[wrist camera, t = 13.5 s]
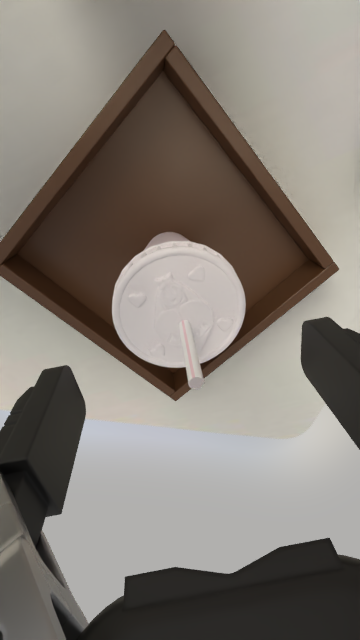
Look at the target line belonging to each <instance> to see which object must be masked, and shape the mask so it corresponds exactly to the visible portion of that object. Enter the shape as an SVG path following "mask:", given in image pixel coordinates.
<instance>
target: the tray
mask: <svg viewBox="0 0 360 640" xmlns="http://www.w3.org/2000/svg"><path fill="white" fill-rule="evenodd" d="M164 232H174V233H178V234H180V235H182V236H184V237H185V238H186V239H188V240H189V241H191V242H194V243H198V244H202V245H206V246H207V247H209V248H211V249H213V250H214V251H216V252H218V253H220V254H221V255H222V256H223V257H224V258H225V259H226V260H227V261H228V262H229V263H230V264H231V265H232V267H233V269H234V271H235V273H236V274H237V276H238V278H239V280H240V282H241V284H242V287H243V290H244V294H245V302H246V308H245V316H244V320H243V323H242V326H241V328H240V330H239V332H238V334H237V336H236V337H235V339H234V340H233V341H232V343H231V344H230V345H229V346H228V347H227V348H226V349H225V350H224V351H222V352H221V353H220V354H218V355H217V356H215V357H214V358H212V359H210V360H208V361H206V362H204V363H201V364H200V366H201V370H202V374H203V378H205V377H206V376H208V375H209V374H210V373H211V372H213V371H214V370H215V369H216V368H218V367H219V366H220V365H221V364H222V363H224V362H225V361H226V360H227V359H229V358H230V357H231V356H232V355H234V354H235V353H236V352H237V351H239V350H240V349H241V348H242V347H244V346H245V345H246V344H247V343H249V342H250V341H251V340H252V339H254V338H255V337H256V336H257V335H259V334H260V333H261V332H262V331H263V330H265V329H266V328H267V327H268V326H270V325H271V324H272V323H273V322H275V321H276V320H277V319H278V318H280V317H281V316H282V315H283V314H285V313H286V312H287V311H288V310H290V309H291V308H292V307H293V306H295V305H296V304H297V303H298V302H299V301H301V300H302V299H303V298H304V297H306V296H307V295H308V294H309V293H311V292H312V291H313V290H314V289H316V288H317V287H318V286H319V285H321V284H322V283H323V282H324V281H326V280H327V279H328V278H329V277H331V276H332V275H333V274H334V273H335V272H337V271H338V270H339V268H338V266H337V265H336V264H335V262H333V260H332V258H331V257H330V256H329V254H328V253H327V251H326V250H325V249H324V247H323V246H322V245H321V243H320V242H319V240H318V239H317V238H316V236H315V235H314V234H313V232H312V231H311V230H310V228H309V227H308V225H307V224H306V223H305V221H304V220H303V219H302V217H301V216H300V214H299V213H298V212H297V210H296V209H295V208H294V206H293V205H292V203H291V202H290V201H289V199H288V198H287V197H286V195H285V194H284V192H283V191H282V190H281V188H280V187H279V186H278V184H277V183H276V181H275V180H274V179H273V177H272V176H271V175H270V173H269V172H268V170H267V169H266V168H265V166H264V165H263V164H262V162H261V161H260V159H259V158H258V157H257V155H256V154H255V153H254V151H253V150H252V148H251V147H250V146H249V144H248V143H247V142H246V140H245V139H244V138H243V136H242V135H241V133H240V132H239V131H238V129H237V128H236V127H235V125H234V124H233V122H232V121H231V120H230V118H229V117H228V116H227V114H226V113H225V111H224V110H223V109H222V107H221V106H220V105H219V103H218V102H217V100H216V99H215V98H214V96H213V95H212V94H211V92H210V91H209V89H208V88H207V87H206V85H205V84H204V83H203V81H202V80H201V78H200V77H199V76H198V74H197V73H196V72H195V70H194V69H193V67H192V66H191V65H190V63H189V62H188V61H187V59H186V58H185V56H184V55H183V54H182V52H181V51H180V50H179V48H178V47H177V46H176V45H175V43H174V41H173V40H172V39H171V37H170V36H169V35H168V33H167V32H166V30H163V31H162V32H161V33H160V35H159V36H158V37H157V39H156V40H155V41H154V43H153V44H152V45H151V47H150V48H149V49H148V50H147V52H146V53H145V54H144V56H143V57H142V58H141V60H140V61H139V62H138V63H137V65H136V66H135V67H134V69H133V70H132V71H131V73H130V74H129V75H128V76H127V78H126V79H125V80H124V82H123V83H122V84H121V86H120V87H119V88H118V90H117V91H116V92H115V93H114V95H113V96H112V97H111V99H110V100H109V101H108V103H107V104H106V105H105V106H104V108H103V109H102V110H101V112H100V113H99V114H98V116H97V117H96V118H95V119H94V121H93V122H92V123H91V125H90V126H89V127H88V129H87V130H86V131H85V133H84V134H83V135H82V136H81V138H80V139H79V140H78V142H77V143H76V144H75V146H74V147H73V148H72V149H71V151H70V152H69V153H68V155H67V156H66V157H65V159H64V160H63V161H62V162H61V164H60V165H59V166H58V168H57V169H56V170H55V172H54V173H53V174H52V176H51V177H50V178H49V179H48V181H47V182H46V183H45V185H44V186H43V187H42V189H41V190H40V191H39V192H38V194H37V195H36V196H35V198H34V199H33V200H32V202H31V203H30V204H29V205H28V207H27V208H26V209H25V211H24V212H23V213H22V215H21V216H20V217H19V219H18V220H17V221H16V222H15V224H14V225H13V226H12V228H11V229H10V230H9V232H8V233H7V234H6V235H5V237H4V238H3V239H2V241H1V242H0V276H2V277H3V278H4V279H6V280H7V281H9V282H10V283H11V284H13V285H14V286H16V287H17V288H18V289H20V290H21V291H23V292H24V293H25V294H27V295H28V296H30V297H31V298H32V299H34V300H35V301H37V302H38V303H39V304H41V305H42V306H44V307H45V308H46V309H48V310H49V311H51V312H52V313H53V314H55V315H56V316H57V317H59V318H60V319H62V320H63V321H64V322H66V323H67V324H69V325H70V326H71V327H73V328H74V329H76V330H77V331H78V332H80V333H81V334H83V335H84V336H85V337H87V338H88V339H90V340H91V341H92V342H94V343H95V344H97V345H98V346H99V347H101V348H102V349H104V350H105V351H106V352H108V353H109V354H111V355H112V356H113V357H115V358H116V359H118V360H119V361H120V362H122V363H123V364H125V365H126V366H127V367H129V368H130V369H131V370H133V371H134V372H136V373H137V374H138V375H140V376H141V377H143V378H144V379H145V380H147V381H148V382H150V383H151V384H152V385H154V386H155V387H157V388H158V389H159V390H161V391H162V392H164V393H165V394H166V395H168V396H170V398H172V399H173V400H175V401H177V400H178V399H179V398H180V397H182V396H183V395H184V394H185V393H186V392H188V391H189V390H190V389H191V388H190V387H189V384H188V378H187V372H186V367H182V368H171V367H163V366H158V365H155V364H152V363H149V362H147V361H145V360H143V359H141V358H139V357H138V356H136V355H135V354H134V353H133V352H131V351H130V350H129V349H128V348H127V347H126V346H125V344H124V343H123V342H122V340H121V339H120V337H119V335H118V334H117V331H116V329H115V326H114V323H113V318H112V299H113V293H114V288H115V284H116V282H117V280H118V278H119V276H120V274H121V272H122V270H123V269H124V267H125V266H126V265H127V264H128V263H129V262H130V261H131V260H132V259H133V258H134V257H135V256H136V255H138V254H139V253H141V252H143V251H144V249H145V248H146V246H147V245H148V243H149V242H150V241H151V240H152V239H153V238H154V237H155V236H157V235H158V234H161V233H164Z"/></svg>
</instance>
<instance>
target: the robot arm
mask: <svg viewBox="0 0 360 640" xmlns="http://www.w3.org/2000/svg"><path fill="white" fill-rule="evenodd" d="M301 364H302V368H303V371H304V373H305V375H306V377H307V378H308V379H309V381H310V382H311V384H312V385H313V386H314V388H315V389H316V390H317V392H318V393H319V395H320V396H321V397H322V399H323V400H324V401H325V403H326V404H327V406H328V407H329V408H330V410H331V411H332V412H333V414H334V415H335V416H336V418H337V419H338V421H339V422H340V423H341V425H342V426H343V428H344V429H345V430H346V432H347V433H348V434H349V436H350V437H351V439H352V440H353V441H354V443H355V444H356V445H357V447H358V448H359V449H360V334H359V333H357V332H355V331H352V330H350V329H348V328H346V329H342V328H341V327H340V326H339V325H338V324H337V323H335V322H334V321H333V320H332V319H331V318H329V317H324V318H319V319H314V320H308V321H305V322H304V323H303V325H302V342H301ZM10 414H11V415H9V416H8V418H7V420H6V422H5V423H4V425H5V426H4V427H2V429H1V431H0V640H360V560H359V559H356V558H352V557H348V556H344V555H338V554H337V552H336V550H335V548H334V546H333V544H332V542H331V540H330V538H326V539H320V540H315V541H310V542H305V543H299V544H294V545H289V546H284V547H279V548H277V549H276V550H274V551H272V552H270V553H268V554H267V555H265V556H263V557H261V558H260V559H258V560H256V561H254V562H252V563H251V564H249V565H247V566H245V567H243V568H242V569H240V570H238V571H236V572H234V573H231V574H223V573H215V572H208V571H201V570H192V569H184V568H178V567H174V568H168V569H163V570H158V571H153V572H147V573H142V574H138V575H133V576H127V577H125V589H124V596H122V597H120V598H118V599H117V600H116V601H114V602H113V603H112V604H110V605H109V606H107V607H106V608H105V609H104V610H103V611H102V612H101V613H99V615H97V616H96V617H95V618H94V619H93V620H92V621H91V622H90V623H88V622H87V620H86V618H85V616H84V614H83V612H82V611H81V609H80V607H79V606H78V604H77V602H76V601H75V599H74V597H73V595H72V593H71V591H70V589H69V587H68V585H67V582H66V580H65V578H64V576H63V574H62V572H61V570H60V567H59V565H58V563H57V561H56V559H55V556H54V554H53V552H52V550H51V548H50V545H49V543H48V541H47V539H46V537H45V535H44V533H43V532H42V527H43V523H44V520H45V517H48V516H53V515H59V514H61V513H62V509H63V505H64V501H65V497H66V493H67V488H68V485H69V480H70V477H71V473H72V469H73V465H74V461H75V456H76V452H77V448H78V444H79V440H80V436H81V432H82V428H83V424H84V420H85V415H86V407H85V401H84V398H83V396H82V394H81V391H80V389H79V387H78V384H77V382H76V379H75V377H74V375H73V372H72V370H71V368H70V367H69V366H67V365H66V366H60V367H55V368H50V369H45V370H43V371H42V373H41V375H40V377H39V379H38V381H37V383H36V385H35V387H30V388H29V389H28V390H27V391H26V392H25V393H24V394H23V395H22V396H21V397H20V398H19V399H18V400H17V401H16V403H15V405H14V407H13V409H12V411H11V412H10Z"/></svg>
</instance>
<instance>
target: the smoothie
mask: <svg viewBox="0 0 360 640" xmlns="http://www.w3.org/2000/svg"><path fill="white" fill-rule="evenodd" d="M245 308H246V302H245V294H244V290H243V287H242V284H241V282H240V280H239V278H238V276H237V274H236V273H235V271H234V269H233V267H232V265H231V264H230V263H229V262H228V261H227V260H226V259H225V258H224V257H223V256H222V255H221V254H220V253H218V252H216V251H214V250H213V249H211V248H209V247H207V246H206V245H202V244H198V243H194V242H191V241H189V240H188V239H186V238H185V237H184V236H182V235H180V234H178V233H174V232H164V233H161V234H158V235H157V236H155V237H154V238H153V239H152V240H151V241H150V242H149V243H148V245H147V246H146V248H145V249H144V251H143V252H141V253H139V254H138V255H136V256H135V257H134V258H133V259H132V260H131V261H130V262H129V263H128V264H127V265H126V266H125V267H124V269H123V270H122V272H121V274H120V276H119V278H118V280H117V282H116V284H115V288H114V293H113V299H112V318H113V323H114V326H115V329H116V331H117V334H118V335H119V337H120V339H121V340H122V342H123V343H124V344H125V346H126V347H127V348H128V349H129V350H130V351H131V352H133V353H134V354H135V355H136V356H138V357H139V358H141V359H143V360H145V361H147V362H149V363H152V364H155V365H158V366H163V367H171V368H182V367H186V372H187V378H188V384H189V387H190V388H192V389H200V388H201V387H203V385H204V378H203V374H202V370H201V366H200V364H201V363H204V362H206V361H208V360H210V359H212V358H214V357H215V356H217V355H218V354H220V353H221V352H222V351H224V350H225V349H226V348H227V347H228V346H229V345H230V344H231V343H232V341H233V340H234V339H235V337H236V336H237V334H238V332H239V330H240V328H241V326H242V323H243V320H244V316H245Z"/></svg>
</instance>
